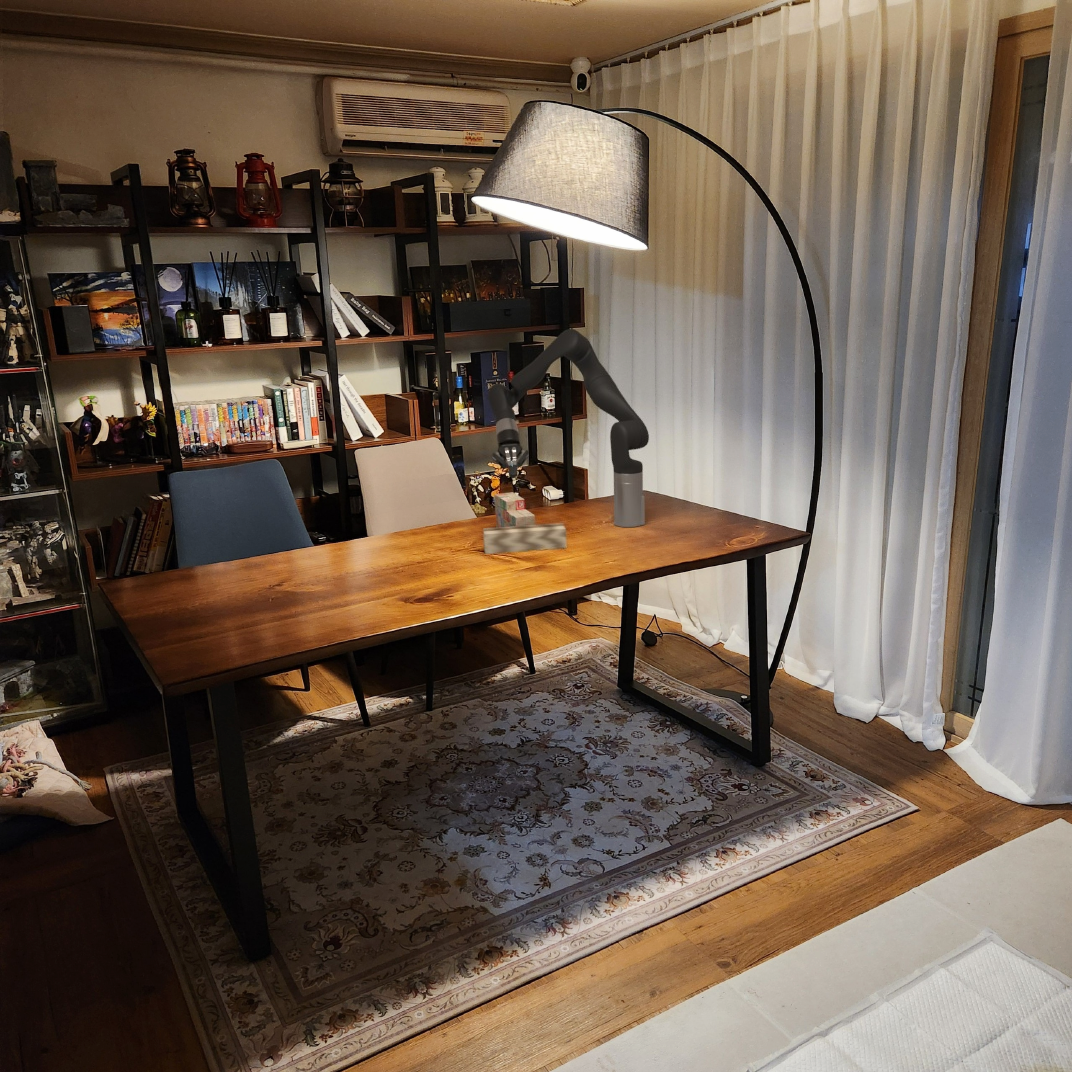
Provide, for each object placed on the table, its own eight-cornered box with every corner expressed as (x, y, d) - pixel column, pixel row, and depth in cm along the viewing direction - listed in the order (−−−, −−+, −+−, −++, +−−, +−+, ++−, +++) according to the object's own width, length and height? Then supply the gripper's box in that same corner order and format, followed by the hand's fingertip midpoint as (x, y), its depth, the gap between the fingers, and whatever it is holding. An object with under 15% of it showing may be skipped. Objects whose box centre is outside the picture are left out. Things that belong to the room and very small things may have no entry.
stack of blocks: (536, 545, 277) (534, 505, 274) (516, 547, 275) (514, 507, 272) (514, 528, 297) (512, 491, 293) (495, 530, 295) (494, 493, 291)
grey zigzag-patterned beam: (563, 543, 277) (563, 522, 275) (566, 548, 272) (565, 526, 270) (484, 549, 274) (482, 528, 272) (485, 554, 269) (484, 532, 268)
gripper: (526, 439, 318) (533, 481, 310) (488, 442, 317) (493, 484, 308) (527, 426, 312) (533, 468, 303) (488, 429, 310) (493, 472, 302)
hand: (513, 476), depth 306 cm, fingers closed
